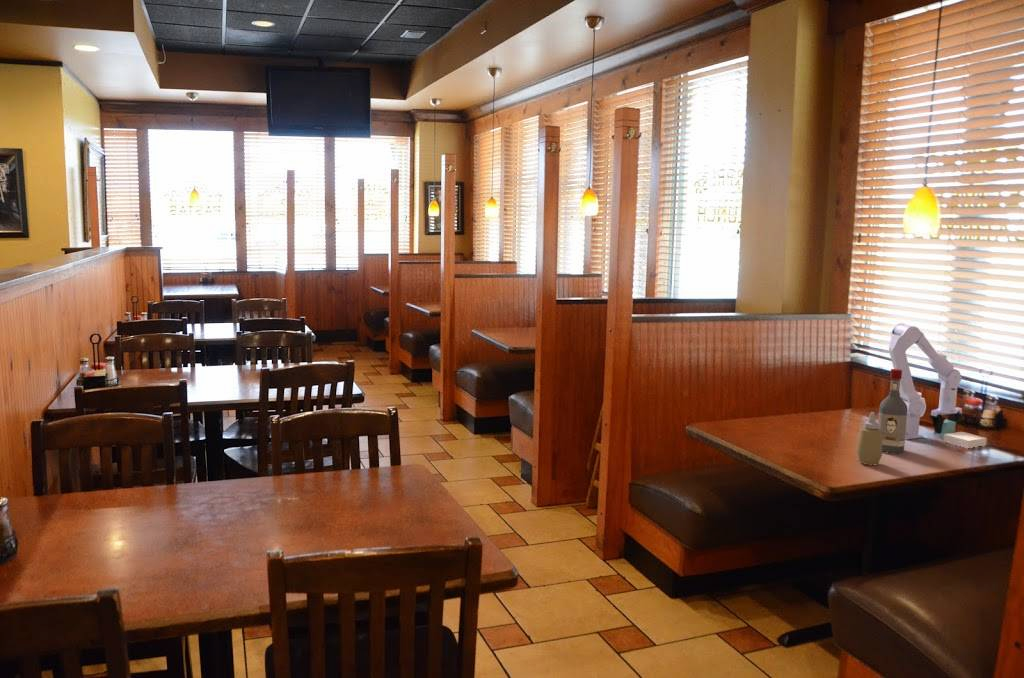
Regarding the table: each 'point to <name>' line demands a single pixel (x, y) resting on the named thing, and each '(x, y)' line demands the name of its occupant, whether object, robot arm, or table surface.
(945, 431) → the teal block
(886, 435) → the liquor
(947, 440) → the base board
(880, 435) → the squeeze bottle
